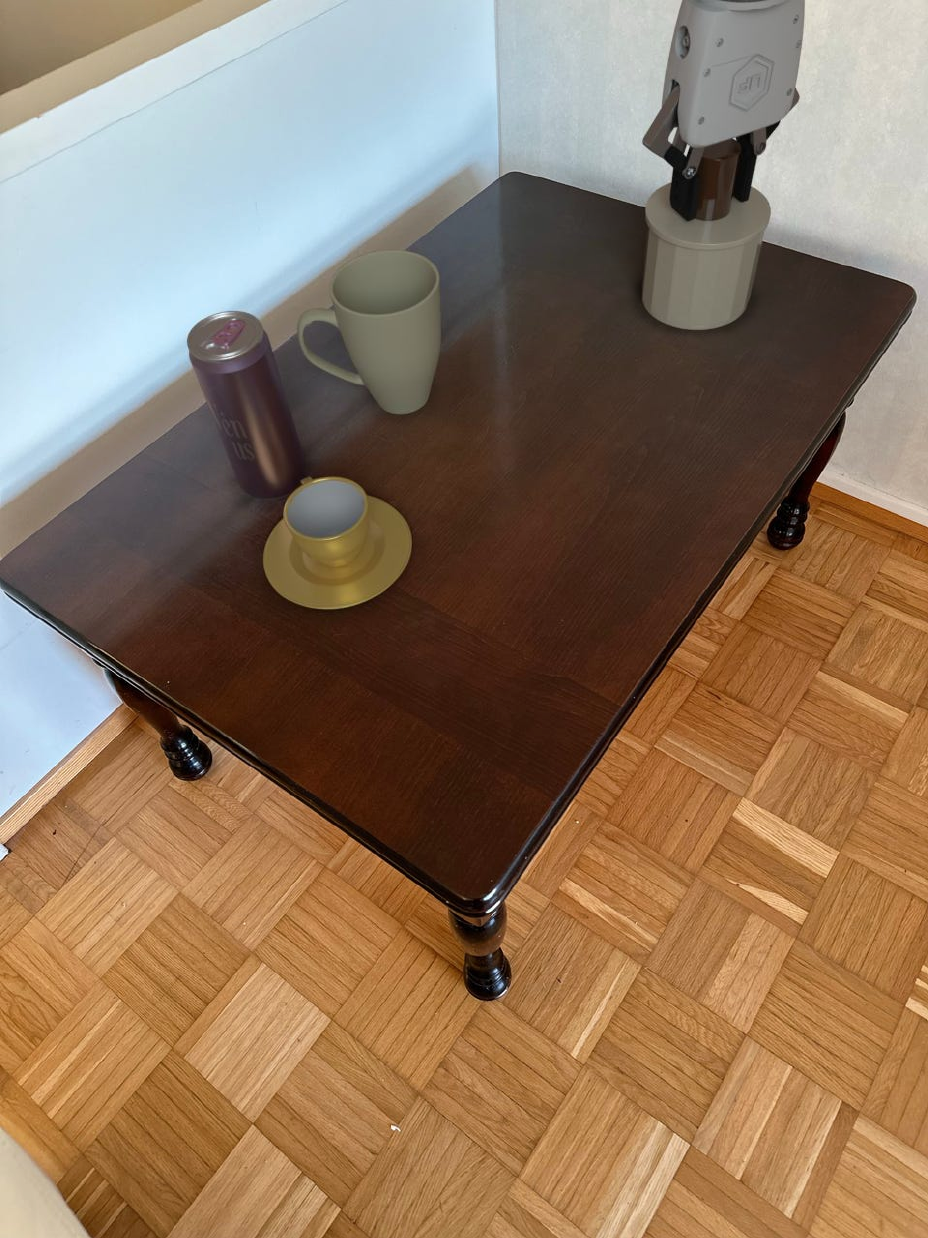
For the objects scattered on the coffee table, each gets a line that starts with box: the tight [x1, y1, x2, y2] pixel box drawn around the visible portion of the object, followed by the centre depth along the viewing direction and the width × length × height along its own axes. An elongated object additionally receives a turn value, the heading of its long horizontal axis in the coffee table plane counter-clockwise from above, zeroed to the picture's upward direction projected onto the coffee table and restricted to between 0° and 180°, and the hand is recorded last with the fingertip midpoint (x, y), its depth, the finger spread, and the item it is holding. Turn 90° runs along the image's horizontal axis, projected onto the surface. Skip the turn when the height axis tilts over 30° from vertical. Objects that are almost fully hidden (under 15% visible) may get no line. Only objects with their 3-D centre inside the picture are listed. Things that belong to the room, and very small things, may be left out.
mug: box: [296, 249, 442, 415], centre depth 78 cm, size 11×10×12 cm
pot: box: [641, 225, 765, 331], centre depth 85 cm, size 10×10×8 cm
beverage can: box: [186, 310, 308, 502], centre depth 72 cm, size 6×6×15 cm
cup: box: [262, 476, 413, 610], centre depth 71 cm, size 12×12×5 cm
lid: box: [644, 138, 772, 250], centre depth 79 cm, size 11×11×7 cm
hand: (709, 201), depth 81 cm, fingers open, 4 cm apart
